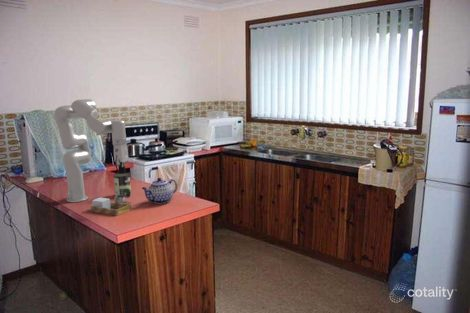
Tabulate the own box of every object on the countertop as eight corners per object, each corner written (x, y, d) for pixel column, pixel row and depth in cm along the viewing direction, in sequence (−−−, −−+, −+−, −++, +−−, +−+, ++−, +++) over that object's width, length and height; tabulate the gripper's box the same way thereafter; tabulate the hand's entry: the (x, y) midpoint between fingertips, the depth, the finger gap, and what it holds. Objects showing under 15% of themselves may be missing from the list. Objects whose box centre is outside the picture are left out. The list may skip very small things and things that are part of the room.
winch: (109, 204, 228) (108, 197, 227) (118, 201, 235) (118, 194, 234) (122, 206, 224) (121, 199, 223) (131, 202, 231) (130, 195, 230)
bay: (90, 211, 216) (90, 206, 216) (105, 205, 226) (104, 200, 226) (117, 215, 208) (116, 210, 207) (131, 209, 218) (130, 204, 217)
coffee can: (134, 193, 251) (132, 173, 249) (126, 198, 241) (125, 176, 239) (120, 193, 253) (118, 172, 251) (112, 197, 243) (110, 176, 241)
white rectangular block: (93, 210, 219) (92, 200, 218) (101, 207, 224) (100, 197, 223) (103, 211, 215) (102, 201, 214) (110, 208, 221) (110, 198, 220)
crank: (116, 196, 228) (115, 188, 227) (119, 195, 230) (118, 187, 229) (128, 198, 224) (127, 189, 223) (131, 196, 226) (131, 188, 225)
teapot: (171, 194, 246) (170, 172, 243) (185, 199, 234) (183, 176, 232) (136, 203, 229) (134, 179, 226) (149, 208, 218) (147, 183, 215)
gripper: (120, 144, 205) (123, 176, 209) (130, 140, 220) (133, 170, 223) (107, 144, 206) (110, 176, 209) (118, 140, 221) (121, 170, 224)
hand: (122, 173), depth 216 cm, fingers closed
